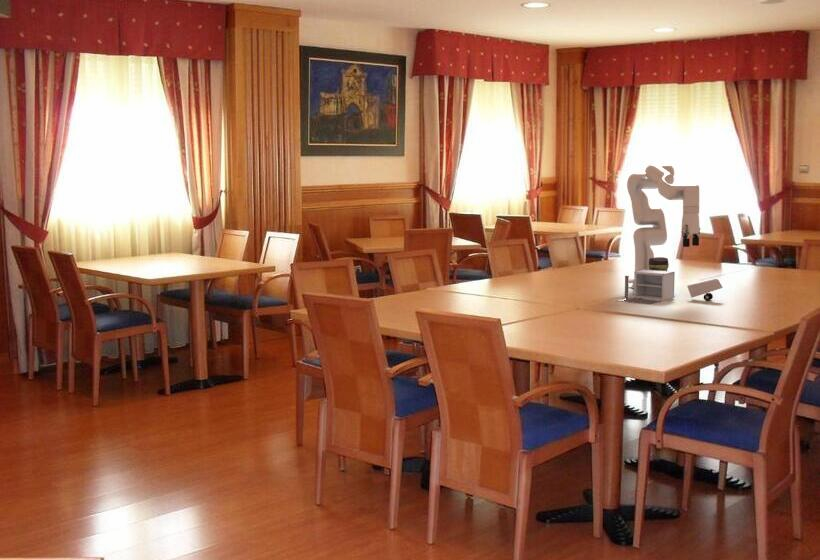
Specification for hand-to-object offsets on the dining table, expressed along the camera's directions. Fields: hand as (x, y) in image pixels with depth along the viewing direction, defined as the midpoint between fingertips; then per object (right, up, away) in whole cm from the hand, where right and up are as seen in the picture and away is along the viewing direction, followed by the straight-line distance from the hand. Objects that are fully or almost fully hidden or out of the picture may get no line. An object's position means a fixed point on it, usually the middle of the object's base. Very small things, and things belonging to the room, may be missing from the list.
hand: (690, 246), depth 473 cm
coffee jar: (-11, -24, +18) cm, 32 cm away
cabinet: (-17, -25, +5) cm, 30 cm away
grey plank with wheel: (0, -24, -1) cm, 24 cm away
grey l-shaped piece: (-26, -26, -4) cm, 37 cm away
